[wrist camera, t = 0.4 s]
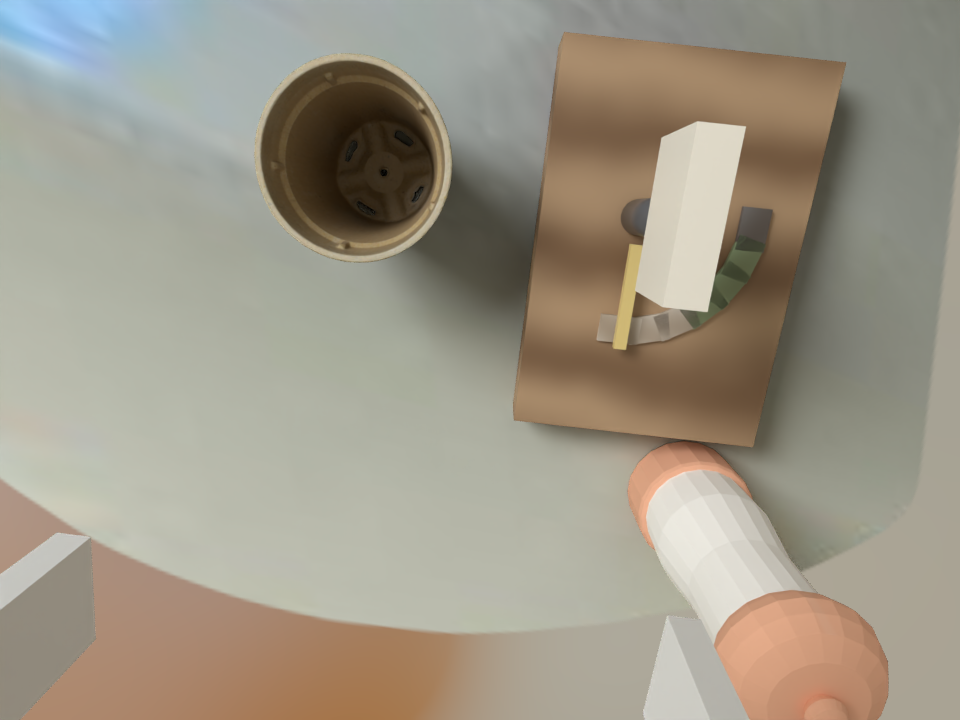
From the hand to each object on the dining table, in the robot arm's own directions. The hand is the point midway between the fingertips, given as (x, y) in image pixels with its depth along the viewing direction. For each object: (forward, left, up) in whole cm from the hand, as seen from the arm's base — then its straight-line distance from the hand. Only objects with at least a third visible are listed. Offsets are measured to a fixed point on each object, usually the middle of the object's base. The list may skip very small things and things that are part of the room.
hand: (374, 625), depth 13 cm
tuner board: (-8, +12, -26) cm, 30 cm away
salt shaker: (+8, +16, -26) cm, 32 cm away
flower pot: (-11, -5, -26) cm, 29 cm away
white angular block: (-8, +10, -23) cm, 26 cm away
